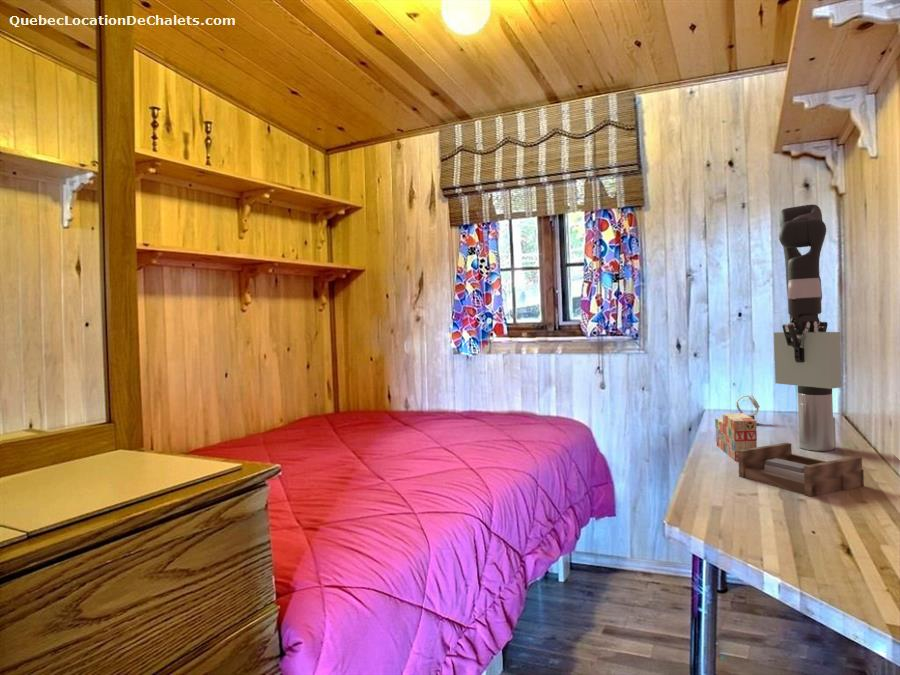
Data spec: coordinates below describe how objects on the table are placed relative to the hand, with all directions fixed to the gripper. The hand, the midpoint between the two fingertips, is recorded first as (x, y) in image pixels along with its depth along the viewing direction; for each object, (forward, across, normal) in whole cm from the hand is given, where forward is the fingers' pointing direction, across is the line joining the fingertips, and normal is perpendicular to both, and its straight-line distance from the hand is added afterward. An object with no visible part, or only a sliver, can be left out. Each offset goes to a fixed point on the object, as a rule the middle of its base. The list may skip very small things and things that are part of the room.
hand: (806, 361), depth 157 cm
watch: (+31, -43, -60) cm, 80 cm away
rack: (+30, +7, +2) cm, 31 cm away
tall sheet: (+6, 0, 0) cm, 6 cm away
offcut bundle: (+31, +9, +2) cm, 32 cm away
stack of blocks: (+31, -4, -28) cm, 42 cm away
